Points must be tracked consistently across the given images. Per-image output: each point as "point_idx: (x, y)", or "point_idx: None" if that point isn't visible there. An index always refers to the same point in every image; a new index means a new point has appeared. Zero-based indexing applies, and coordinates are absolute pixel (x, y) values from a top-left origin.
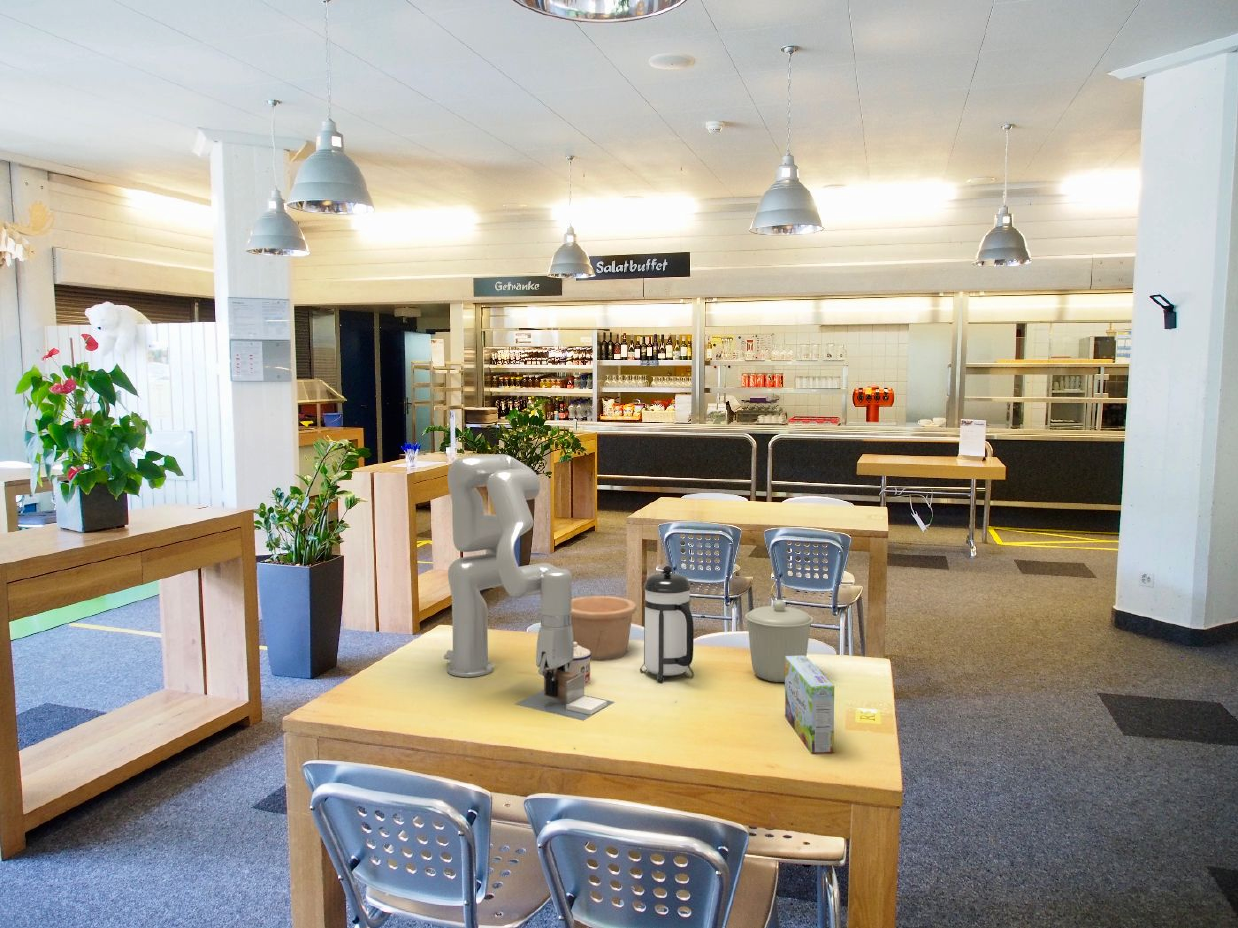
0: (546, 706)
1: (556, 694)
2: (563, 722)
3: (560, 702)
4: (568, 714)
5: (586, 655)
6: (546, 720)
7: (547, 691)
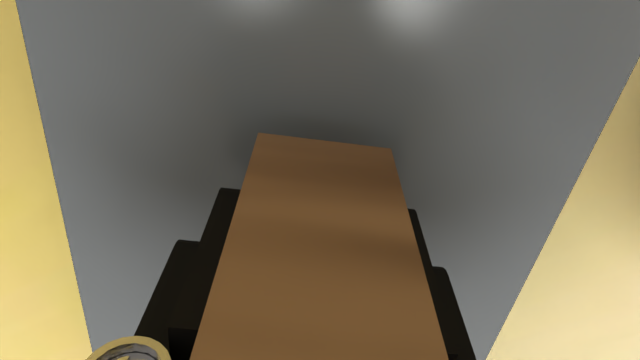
0: (154, 191)
1: None
2: (71, 334)
3: None
4: None
5: None
6: (17, 249)
7: (178, 247)
